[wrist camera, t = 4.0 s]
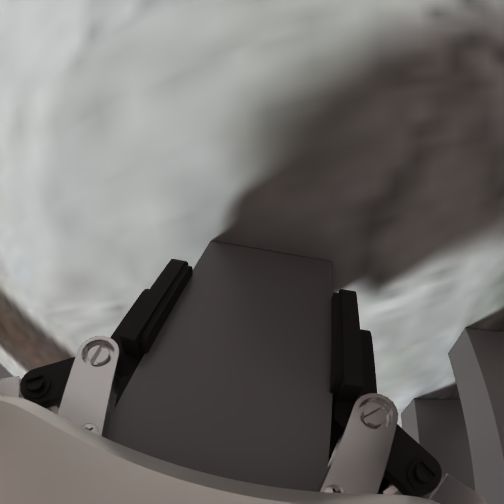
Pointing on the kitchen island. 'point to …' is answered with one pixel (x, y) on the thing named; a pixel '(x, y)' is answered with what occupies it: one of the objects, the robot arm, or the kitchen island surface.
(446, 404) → the domino
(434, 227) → the kitchen island surface
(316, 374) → the domino
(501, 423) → the domino
